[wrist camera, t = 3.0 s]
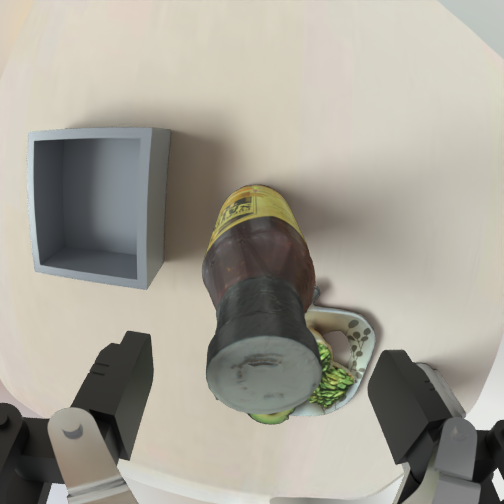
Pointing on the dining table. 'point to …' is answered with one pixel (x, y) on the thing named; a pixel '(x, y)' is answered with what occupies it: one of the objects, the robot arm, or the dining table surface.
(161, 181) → the bottle caddy
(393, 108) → the dining table surface
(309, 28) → the dining table surface
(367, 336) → the salad plate
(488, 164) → the dining table surface
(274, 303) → the sauce bottle
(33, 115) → the dining table surface
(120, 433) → the robot arm
